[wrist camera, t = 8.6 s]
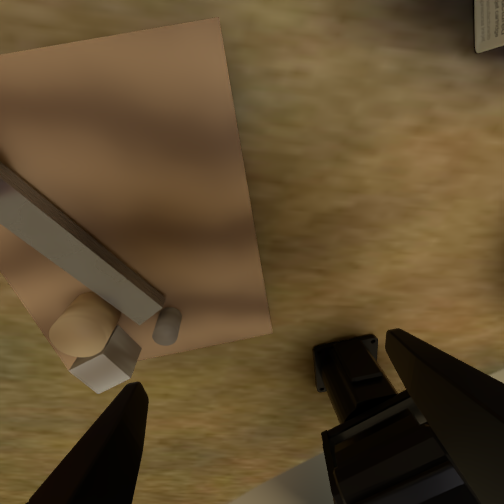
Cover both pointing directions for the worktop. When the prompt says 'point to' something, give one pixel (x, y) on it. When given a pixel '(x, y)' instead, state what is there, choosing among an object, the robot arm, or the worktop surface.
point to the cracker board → (137, 186)
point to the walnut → (84, 326)
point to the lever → (74, 249)
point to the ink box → (488, 24)
